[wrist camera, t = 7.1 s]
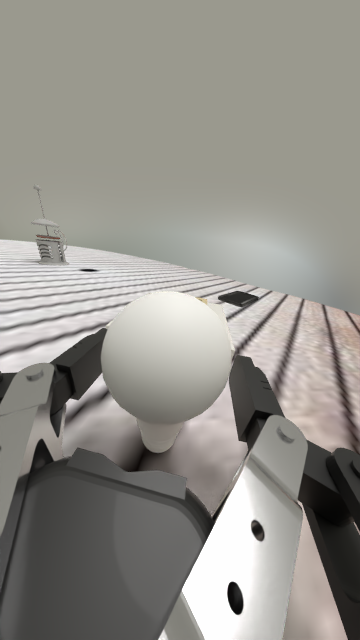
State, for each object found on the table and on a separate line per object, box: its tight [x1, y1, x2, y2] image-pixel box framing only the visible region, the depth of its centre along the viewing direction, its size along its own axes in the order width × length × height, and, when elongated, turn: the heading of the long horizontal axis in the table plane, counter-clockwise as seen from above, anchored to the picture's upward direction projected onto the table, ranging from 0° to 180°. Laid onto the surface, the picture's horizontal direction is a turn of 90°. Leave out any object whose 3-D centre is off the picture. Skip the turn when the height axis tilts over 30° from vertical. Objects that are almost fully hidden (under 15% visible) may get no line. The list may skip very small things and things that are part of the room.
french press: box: [31, 185, 69, 265], centre depth 56 cm, size 10×12×25 cm
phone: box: [218, 291, 259, 307], centre depth 48 cm, size 8×1×15 cm
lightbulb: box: [101, 291, 231, 453], centre depth 9 cm, size 6×6×11 cm
